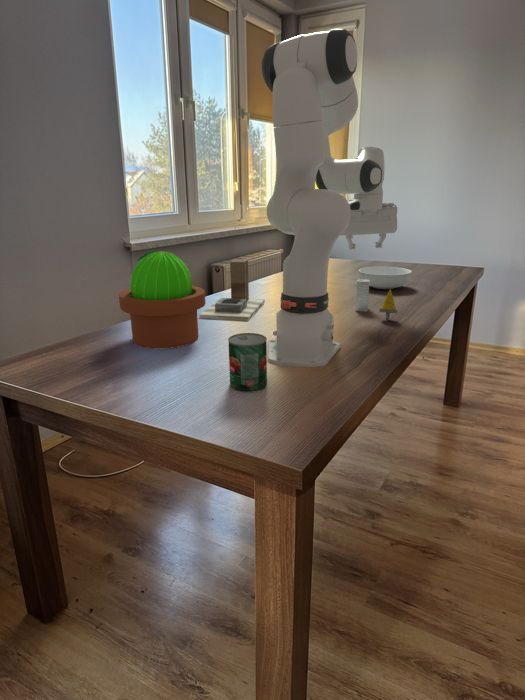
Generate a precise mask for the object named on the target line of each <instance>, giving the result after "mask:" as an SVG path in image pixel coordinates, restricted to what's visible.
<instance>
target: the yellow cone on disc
mask: <svg viewBox="0 0 525 700" xmlns="http://www.w3.org/2000/svg"><path fill="white" fill-rule="evenodd" d="M378 311H379V312H380V313H385V320H386V322H388V321H389V319H390V315H391V314H397V313H398V309H397V308H396V305H395V300H394V297H393V292H392V289H388V292H387V295H386V297H385V299H384V301H383V303H382V304H381V308H379V310H378Z"/></svg>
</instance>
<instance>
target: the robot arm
mask: <svg viewBox="0 0 525 700" xmlns="http://www.w3.org/2000/svg"><path fill="white" fill-rule="evenodd" d="M357 65H358V49H357V45H356V41H355V38H354V36H353V34H351V32H349V30H347V29H346V28H345V29H344V28H332V29H331V28H330V30H327V31H317V32H313V33H312V32H311V33H308V34H306V33H304V34H299V35H297V36H294V37H291V38H288V39H286V40H283V41H278V42H275V43H273V44H271V45H269V46H268V47H267V48H266V49H265V51H264V54H263V56H262V59H261V74H262V77H263V81H264V83H265V84H266V85H265V86H266V87H267V88H268V89H269V91H270V92H271V93H272V98H271V99H272V101H271V102H272V103H271V104H272V105H271V107H272V112H271V113H272V126H273V135H274V136H273V137H274V145H275V155H276V174H275V175H276V176H275V182H274V189H273V193H272V196H271V198H270V199H269V200H268V202H267V206H266V218H267V220H268V222H269V223H270V225H271V226H272V227H273V228H275V229H276V230H277V231H280V232H281V233H284V234H286V235H290V236H291V235H293V236H294V240H293V244H292V247H291V251H290V252H289V255H287V256H286V257H285V258H284V260H283V263H282V291H281V294H280V295H281V296H280V299H279V301H280V310H279V311H277V312H276V317H275V318H276V319H275V320H276V330H273V332H272V333H273V334H272V335H273V336H274V338H269V339H267V341H268V342H267V362H269V363H270V364H274V365H279V366H288V367H295V368H296V367H297V368H298V367H300V368H315V367H324V366H326V365H327V364H328V363H329V362H330V361H331V359H332V358H333V357H334V356H335V354H336V353H337V352H338V351H339V350H340V349H341V344H340V342H337V341H334V326H335V325H334V319H335V317H334V315H333V314H332V313H331V312H330V311H329V309H328V308H329V300H330V299H329V293H328V291H327V290H328V275H329V274H328V272H329V264H330V258H331V255H332V251H333V249H334V246H335V245H336V244H335V243H336V242H337V240H338V238H340V236H345V239H346V241H347V243H348V249H349V250H350V251H351V250H356V243H354V242H353V238H354V237H353V236H355V235H356V236H357V235H361V236H363V235H378V237H379V238H378V241H376V242H375V244H374V245H375V248H377V249H382V248H383V242H384V241H385V240H386V238H387V234H395V233H396V232H397V231H398V217H397V215H398V206H397V205H396V204H395V203H394V202H389V203H387V202H385V203H384V202H383V200H384V199H383V197H384V191H383V184H384V183H383V182H384V181H385V155H384V151H383V149H381V148H379V147H374V146H364V147H361V148H359V149H358V152H357V155H356V157H355V158H350V159H337V158H335V157H333V156H332V154H331V147H330V146H331V145H330V139H329V136H331V135H332V134H333V133H336V132H338V131H341V130H342V129H343V128H345V127H346V126H347V125H348V124H349V123H350V122H351V121H352V120H353V119H354V117H355V115H356V114H357V111H358V107H359V96H358V91H357V87H356V83H355V79H354V74H355V72H356V69H357V67H358V66H357ZM316 186H317V187H316ZM352 194H353V197H352V198H350V199H347V198H346V196H344V195H352Z"/></svg>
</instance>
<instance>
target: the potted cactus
mask: <svg viewBox="0 0 525 700" xmlns="http://www.w3.org/2000/svg"><path fill="white" fill-rule="evenodd" d="M136 263H137V264H136ZM136 263H134V264H135V266H132V267H134V268H133V269H132V274H130V275H131V279H130V280H131V281H130V284H129V286H130V288H128V289H125V290H123V291H121V292H120V293H119V294H118V299H119V300H118V301H119V308H120V310H121V311H122V312H124V313H127V314H129V317H130V318H129V319H130V328H131V335H132V336H131V337H132V342H133V343H134V344H135V345H136V344H137V346H138V347H141V346H142V348H146V347H147V349H153V348H166V349H172V348H171V347H174V348H178V347H177V346H180V347H183V346H182V345H184V346H187V345H190V344H192V343H194V342H196V341H197V340H198V339H199V323H198V322H199V321H198V310H200V309H202V308H203V307H205V306H206V291H205V289H203V288H202V287H200V286H195V285H193V282H192V278H191V277H194V275H191V274H190V270H189V268H188V263H186V262H184V261H183V259H181V258H180V256H178V255H177V256H176V254H175V253H173V252H169V251H163V250H159V251H157V250H152V251H147V252H145V253H143V254H142V256H140V257H138V258H137V259H136ZM191 342H192V343H191ZM189 343H190V344H189ZM186 344H187V345H186Z"/></svg>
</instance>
